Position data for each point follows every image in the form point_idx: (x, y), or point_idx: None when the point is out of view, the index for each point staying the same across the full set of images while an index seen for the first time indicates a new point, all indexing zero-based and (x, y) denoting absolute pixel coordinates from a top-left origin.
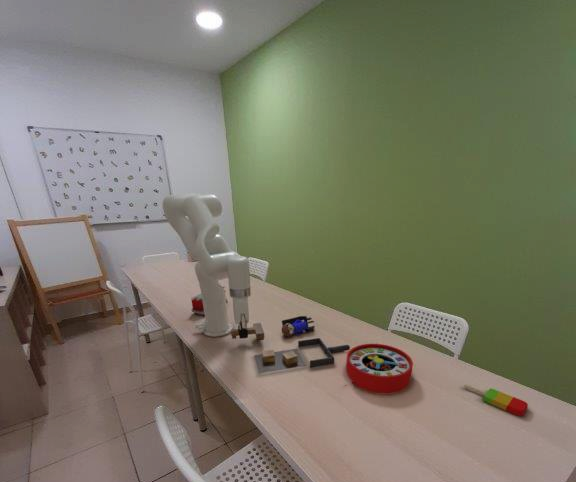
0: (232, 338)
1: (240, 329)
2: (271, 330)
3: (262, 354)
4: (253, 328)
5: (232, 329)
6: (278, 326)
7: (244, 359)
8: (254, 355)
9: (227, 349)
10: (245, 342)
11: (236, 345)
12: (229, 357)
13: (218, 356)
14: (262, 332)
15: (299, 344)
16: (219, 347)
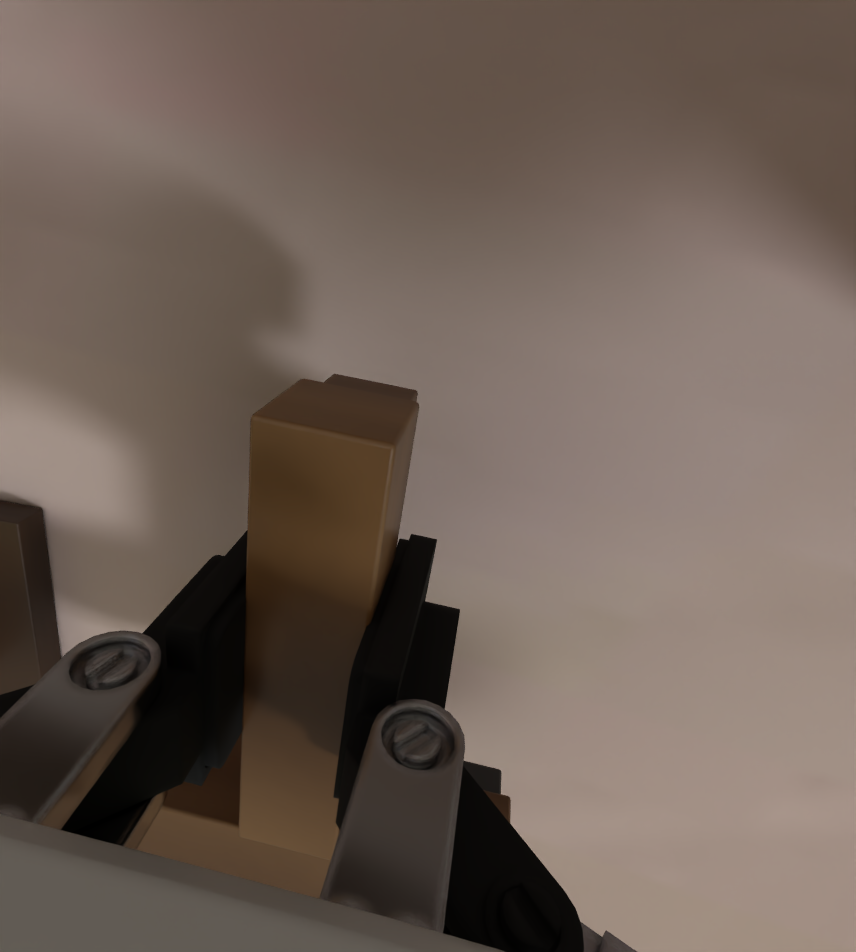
0: (328, 380)
1: (85, 659)
2: (612, 861)
3: (13, 605)
4: (275, 834)
5: (376, 487)
6: (662, 937)
7: (17, 389)
8: (7, 524)
9: (370, 233)
10: (467, 535)
11: (438, 400)
12: (110, 203)
13: (186, 14)
14: None
15: None
16: (506, 104)
